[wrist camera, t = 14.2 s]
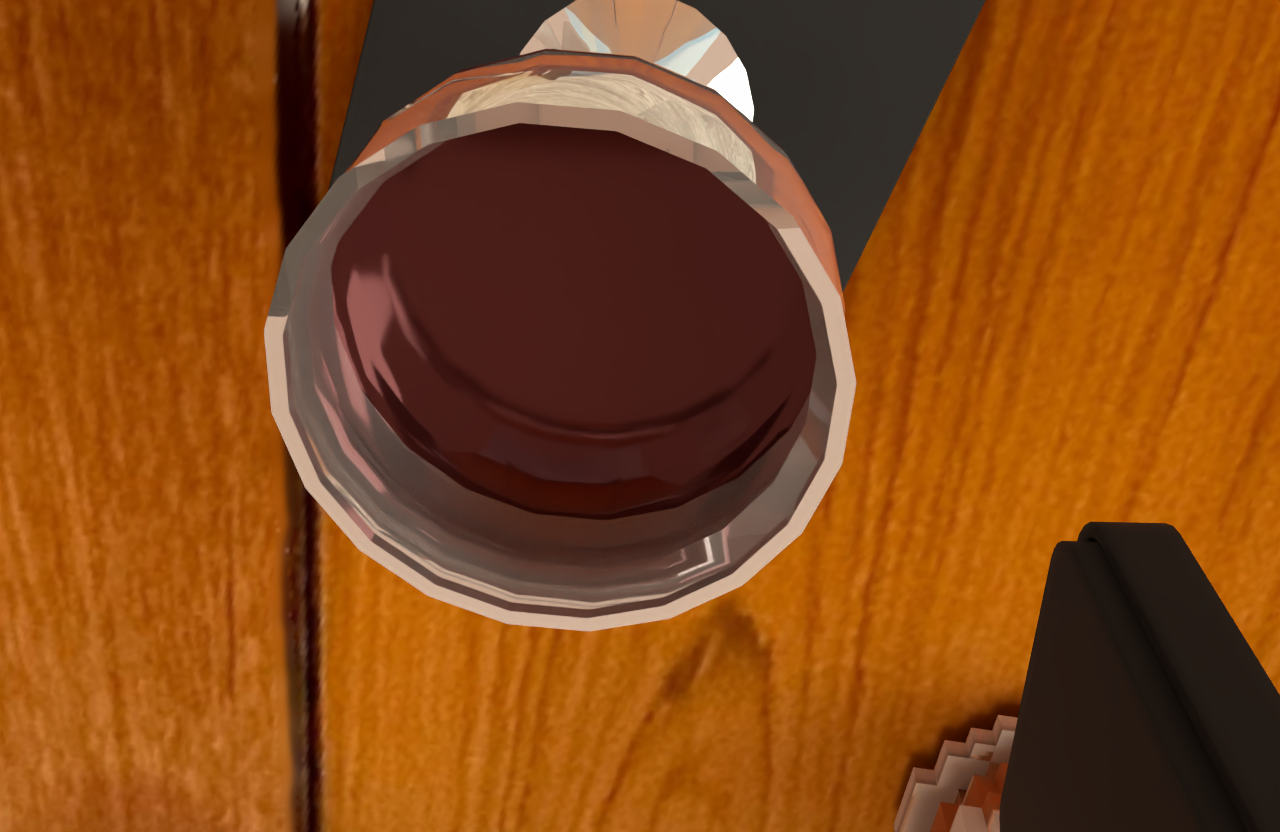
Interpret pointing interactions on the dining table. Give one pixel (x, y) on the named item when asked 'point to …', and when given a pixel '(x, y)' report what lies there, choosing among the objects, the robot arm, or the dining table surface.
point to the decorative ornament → (960, 784)
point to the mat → (776, 71)
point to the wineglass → (569, 331)
